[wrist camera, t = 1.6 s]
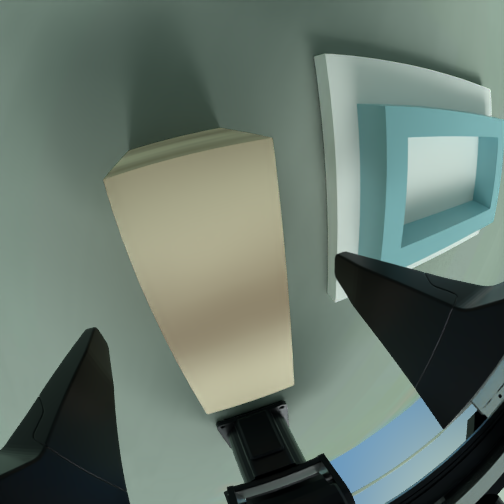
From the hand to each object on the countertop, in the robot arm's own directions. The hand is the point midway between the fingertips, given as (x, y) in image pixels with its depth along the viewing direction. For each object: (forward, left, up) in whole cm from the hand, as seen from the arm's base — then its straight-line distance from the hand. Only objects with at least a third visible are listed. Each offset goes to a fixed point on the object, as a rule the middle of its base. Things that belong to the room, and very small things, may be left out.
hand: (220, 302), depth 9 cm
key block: (0, 0, -5) cm, 5 cm away
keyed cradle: (+1, -16, -5) cm, 17 cm away
